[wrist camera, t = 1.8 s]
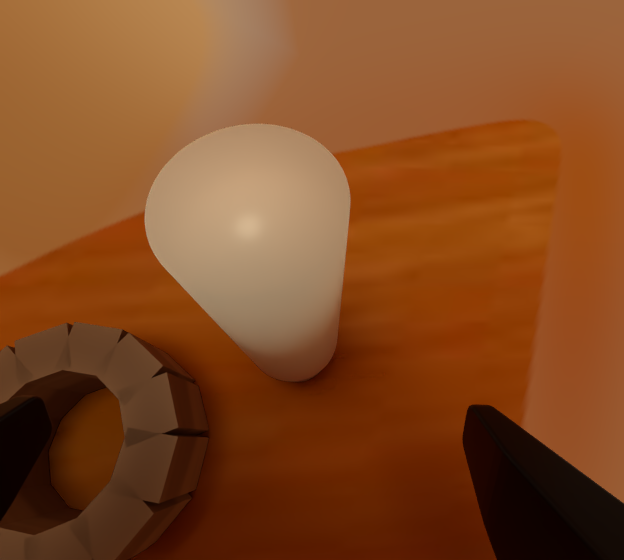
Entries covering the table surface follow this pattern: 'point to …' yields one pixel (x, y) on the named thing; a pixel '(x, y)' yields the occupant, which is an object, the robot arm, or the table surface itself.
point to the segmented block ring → (134, 453)
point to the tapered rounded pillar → (258, 241)
